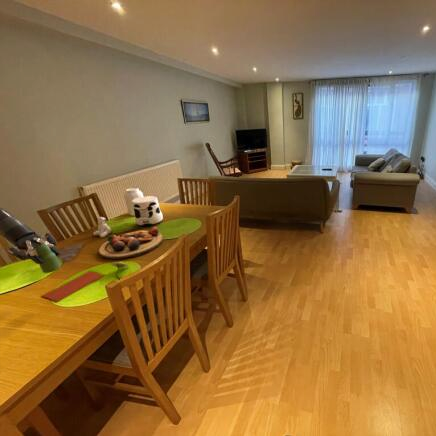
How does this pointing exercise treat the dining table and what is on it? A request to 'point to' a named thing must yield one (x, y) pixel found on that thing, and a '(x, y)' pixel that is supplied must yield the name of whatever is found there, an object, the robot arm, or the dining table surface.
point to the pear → (47, 258)
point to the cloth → (72, 286)
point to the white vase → (131, 198)
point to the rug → (70, 252)
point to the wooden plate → (130, 244)
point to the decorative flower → (119, 266)
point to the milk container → (147, 210)
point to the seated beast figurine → (102, 228)
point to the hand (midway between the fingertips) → (50, 258)
